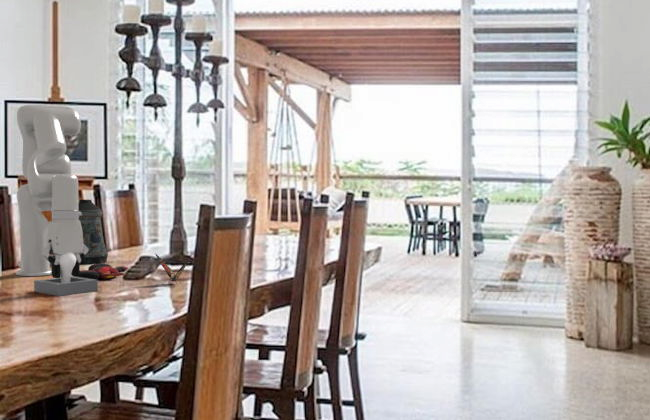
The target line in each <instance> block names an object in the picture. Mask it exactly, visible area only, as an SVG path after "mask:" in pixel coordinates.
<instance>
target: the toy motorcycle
mask: <svg viewBox="0 0 650 420" xmlns="http://www.w3.org/2000/svg"><path fill="white" fill-rule="evenodd" d="M126 271H128V267H127V266H125V265H121V266H115V267H113V266H111V264H108V263H101V264H90V266H88V269H86V270H85V269H84V270H80V272H79V276H75V277H81V278H88V279H95V280H98V279H105V280H106V279H115V278H116V277H120V276H124V275H125V274H124V273H125V272H126ZM121 273H123V274H121Z"/></svg>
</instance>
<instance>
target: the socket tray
mask: <svg viewBox="0 0 650 420" xmlns="http://www.w3.org/2000/svg"><path fill="white" fill-rule="evenodd" d="M98 281H99V280H98V279H97V280H95V279H88V278H81V277H75V276H73V275H71V278H70V282H67V283H61V277H60V278H53V277H52V278H45V279H36V280H35V279H34V281H33V291H34V293H40V294H47V295H50V296H55V297H60V296H62V297H63V296H69V295H76V294H86V293H91V292H98V291H99V289H98V288H99V286H98V283H99V282H98Z"/></svg>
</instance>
